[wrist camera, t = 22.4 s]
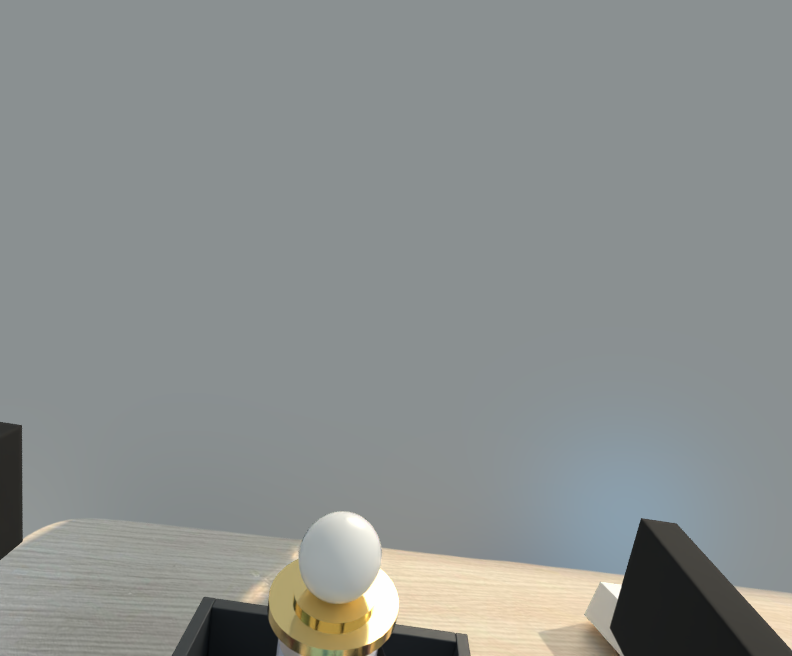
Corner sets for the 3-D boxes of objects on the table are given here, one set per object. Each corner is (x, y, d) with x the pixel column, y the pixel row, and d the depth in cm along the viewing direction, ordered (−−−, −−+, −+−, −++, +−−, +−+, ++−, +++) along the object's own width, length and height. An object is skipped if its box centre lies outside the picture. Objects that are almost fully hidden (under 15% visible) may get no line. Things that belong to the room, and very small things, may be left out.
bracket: (771, 756, 37) (818, 671, 36) (714, 761, 34) (765, 668, 33) (634, 620, 48) (668, 553, 48) (584, 614, 45) (619, 543, 45)
